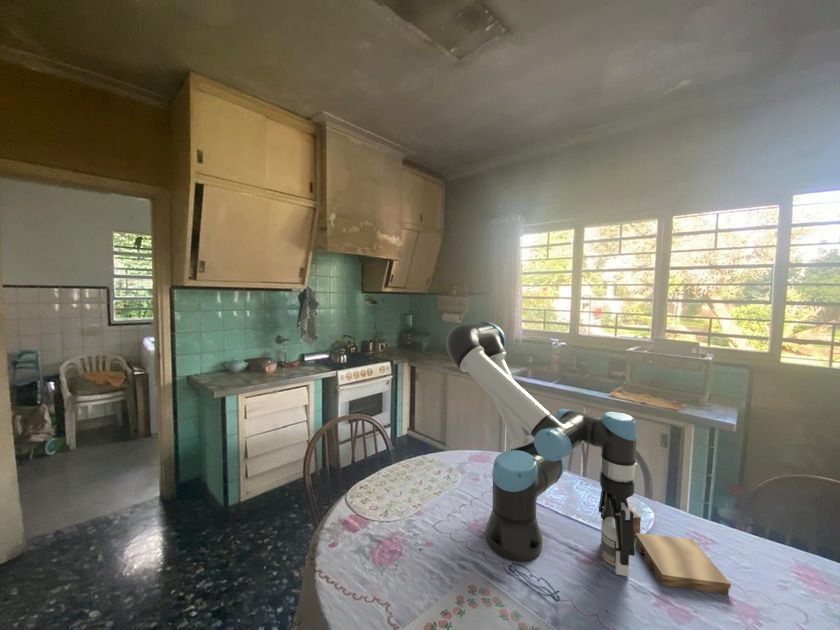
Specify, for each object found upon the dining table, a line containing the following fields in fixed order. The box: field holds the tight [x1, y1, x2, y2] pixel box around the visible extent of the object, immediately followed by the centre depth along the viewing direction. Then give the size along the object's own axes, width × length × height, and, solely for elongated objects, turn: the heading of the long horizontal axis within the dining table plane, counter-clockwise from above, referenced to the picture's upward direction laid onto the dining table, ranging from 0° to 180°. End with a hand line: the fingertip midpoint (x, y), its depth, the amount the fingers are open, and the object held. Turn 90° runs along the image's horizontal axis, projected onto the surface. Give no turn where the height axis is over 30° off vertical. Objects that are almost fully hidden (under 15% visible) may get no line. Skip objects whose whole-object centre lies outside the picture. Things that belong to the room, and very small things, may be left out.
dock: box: [634, 532, 732, 595], centre depth 85 cm, size 14×14×3 cm
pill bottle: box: [600, 517, 618, 566], centre depth 87 cm, size 6×6×10 cm
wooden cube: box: [616, 505, 642, 535], centre depth 99 cm, size 5×5×5 cm
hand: (613, 558), depth 87 cm, fingers open, 9 cm apart
